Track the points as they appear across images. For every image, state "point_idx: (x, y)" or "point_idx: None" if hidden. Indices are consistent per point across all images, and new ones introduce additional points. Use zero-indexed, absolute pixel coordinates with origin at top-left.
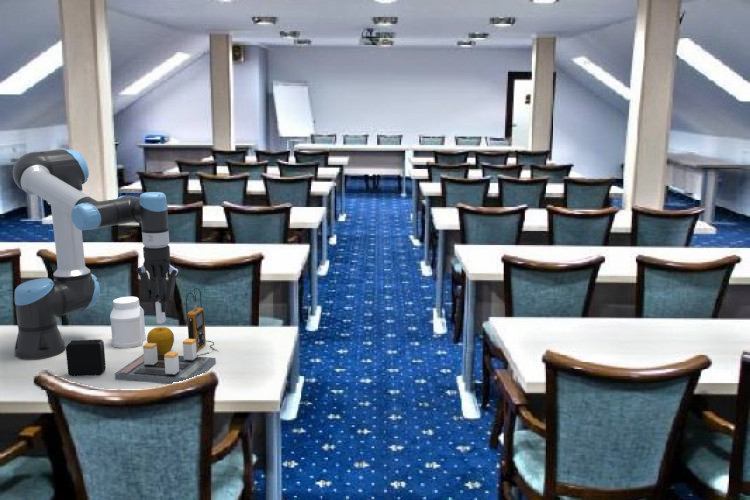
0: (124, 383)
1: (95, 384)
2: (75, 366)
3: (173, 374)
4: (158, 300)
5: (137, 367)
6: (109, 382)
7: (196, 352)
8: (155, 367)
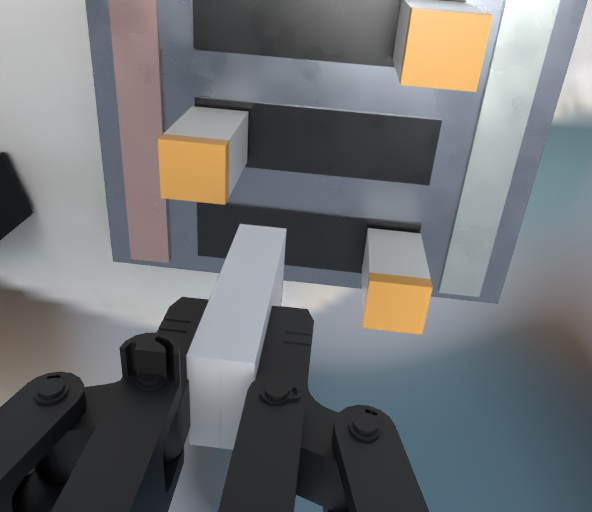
0: (189, 285)
1: (79, 300)
2: None
3: None
4: (188, 386)
5: None
6: (121, 279)
7: (472, 5)
8: (267, 174)
